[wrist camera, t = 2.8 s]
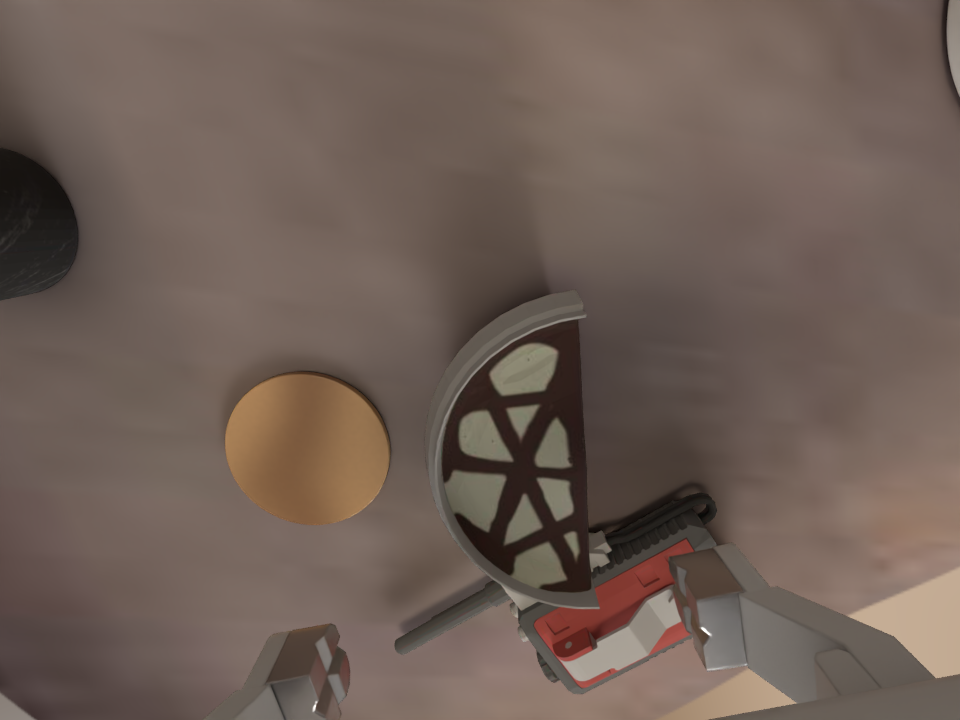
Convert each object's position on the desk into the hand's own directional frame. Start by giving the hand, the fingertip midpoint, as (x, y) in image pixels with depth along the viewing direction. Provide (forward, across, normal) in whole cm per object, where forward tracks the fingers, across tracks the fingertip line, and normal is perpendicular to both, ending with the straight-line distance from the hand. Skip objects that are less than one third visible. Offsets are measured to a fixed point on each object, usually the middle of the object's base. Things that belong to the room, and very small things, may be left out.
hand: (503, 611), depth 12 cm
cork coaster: (+16, +10, +1) cm, 19 cm away
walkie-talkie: (+16, -2, +13) cm, 21 cm away
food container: (+16, 0, 0) cm, 16 cm away
